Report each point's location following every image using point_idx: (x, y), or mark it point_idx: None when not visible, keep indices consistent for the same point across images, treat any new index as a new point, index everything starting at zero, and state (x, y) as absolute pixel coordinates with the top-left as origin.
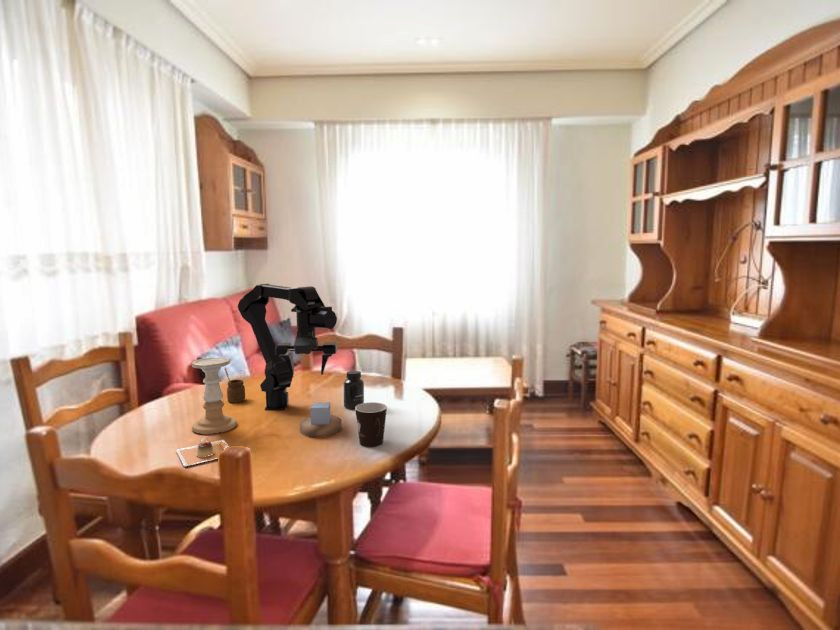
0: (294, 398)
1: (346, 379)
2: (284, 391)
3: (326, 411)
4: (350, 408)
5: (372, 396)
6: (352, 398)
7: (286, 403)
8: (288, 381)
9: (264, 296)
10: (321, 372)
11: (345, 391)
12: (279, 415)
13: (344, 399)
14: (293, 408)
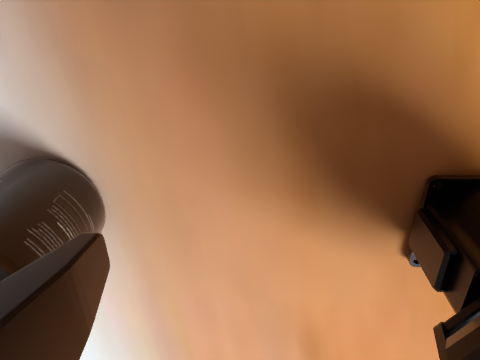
0: (378, 324)
1: None
2: (471, 263)
3: None
4: (53, 161)
5: None
6: (4, 186)
7: (424, 216)
8: (476, 325)
9: None
10: (78, 249)
11: (34, 231)
12: (456, 81)
13: (74, 208)
14: (375, 195)
